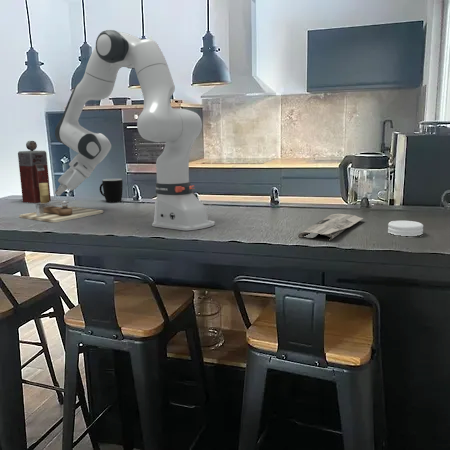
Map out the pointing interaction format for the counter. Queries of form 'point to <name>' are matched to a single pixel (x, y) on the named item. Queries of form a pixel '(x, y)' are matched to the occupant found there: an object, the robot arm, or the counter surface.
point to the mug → (112, 189)
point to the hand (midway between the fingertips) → (56, 194)
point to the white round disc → (405, 228)
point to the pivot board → (55, 218)
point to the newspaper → (332, 225)
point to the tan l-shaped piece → (45, 198)
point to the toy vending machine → (33, 172)
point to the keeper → (41, 206)
